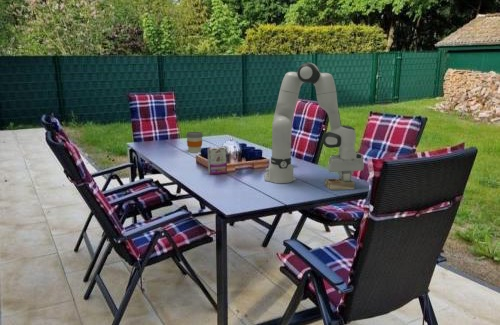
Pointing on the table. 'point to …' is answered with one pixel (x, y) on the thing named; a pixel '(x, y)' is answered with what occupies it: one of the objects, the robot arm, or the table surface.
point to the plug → (345, 175)
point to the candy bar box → (217, 160)
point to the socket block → (339, 184)
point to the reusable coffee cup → (194, 141)
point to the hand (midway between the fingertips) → (345, 178)
